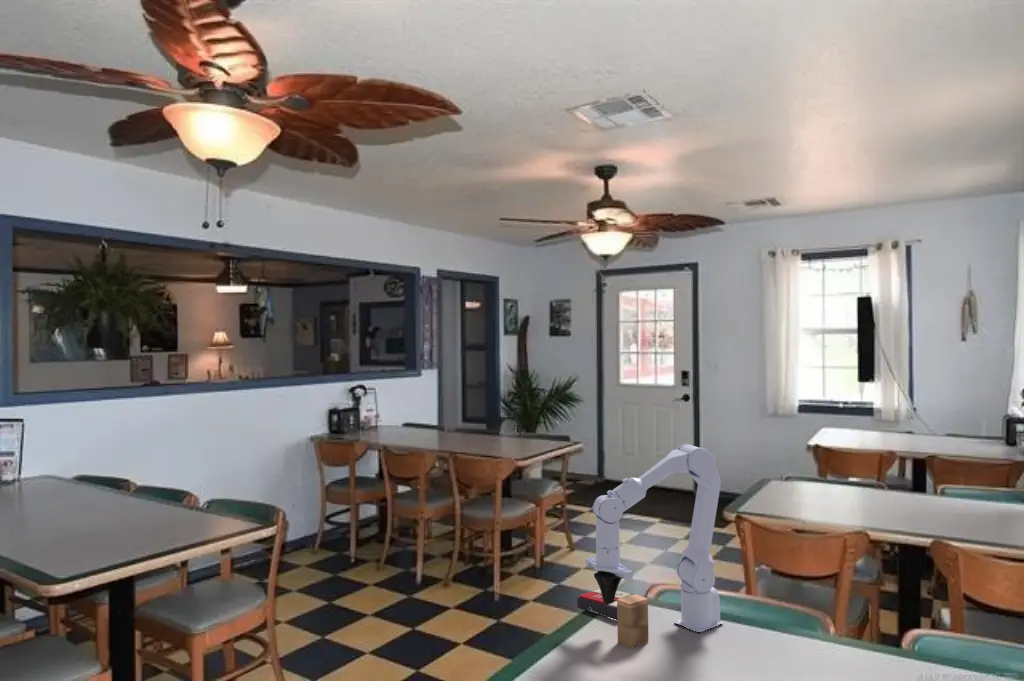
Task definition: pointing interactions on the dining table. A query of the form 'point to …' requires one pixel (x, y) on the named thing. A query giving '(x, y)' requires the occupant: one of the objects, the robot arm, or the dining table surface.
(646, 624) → the walnut block
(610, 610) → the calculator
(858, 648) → the dining table surface
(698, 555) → the robot arm
